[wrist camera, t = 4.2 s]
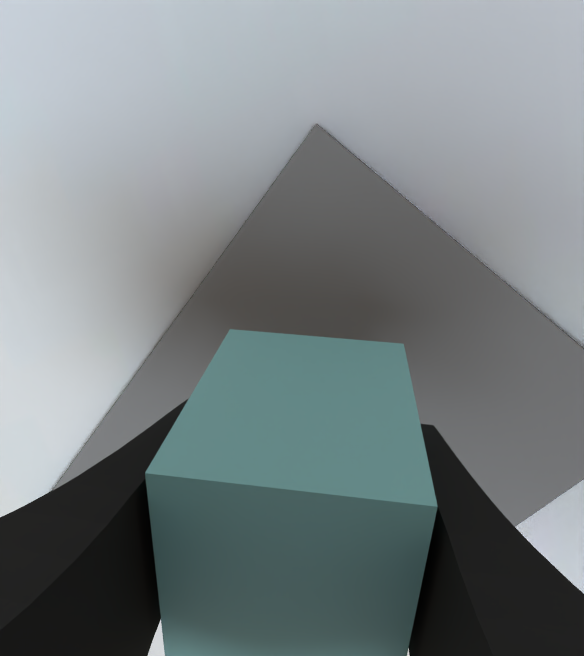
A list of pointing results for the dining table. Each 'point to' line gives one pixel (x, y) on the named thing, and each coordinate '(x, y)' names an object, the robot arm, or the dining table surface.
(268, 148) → the dining table surface
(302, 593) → the teal brick
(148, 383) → the mat
